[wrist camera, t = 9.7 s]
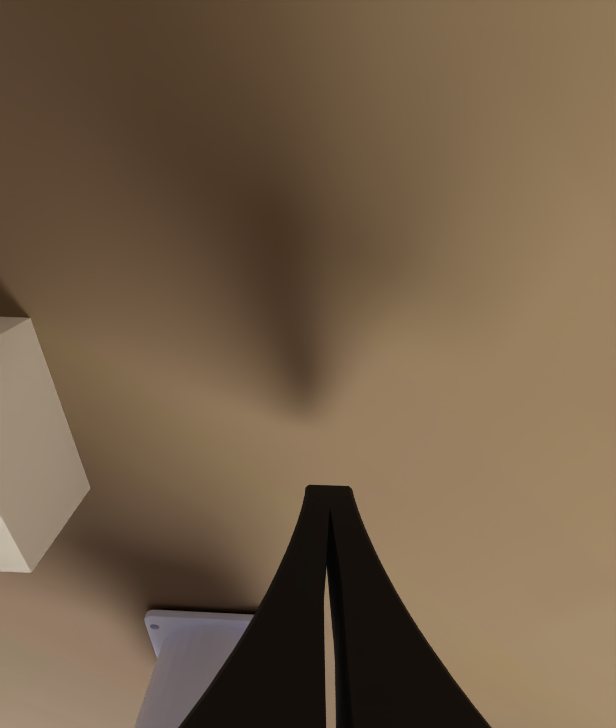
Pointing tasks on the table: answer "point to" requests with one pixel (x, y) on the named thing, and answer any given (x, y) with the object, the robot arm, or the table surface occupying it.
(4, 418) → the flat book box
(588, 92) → the table surface
